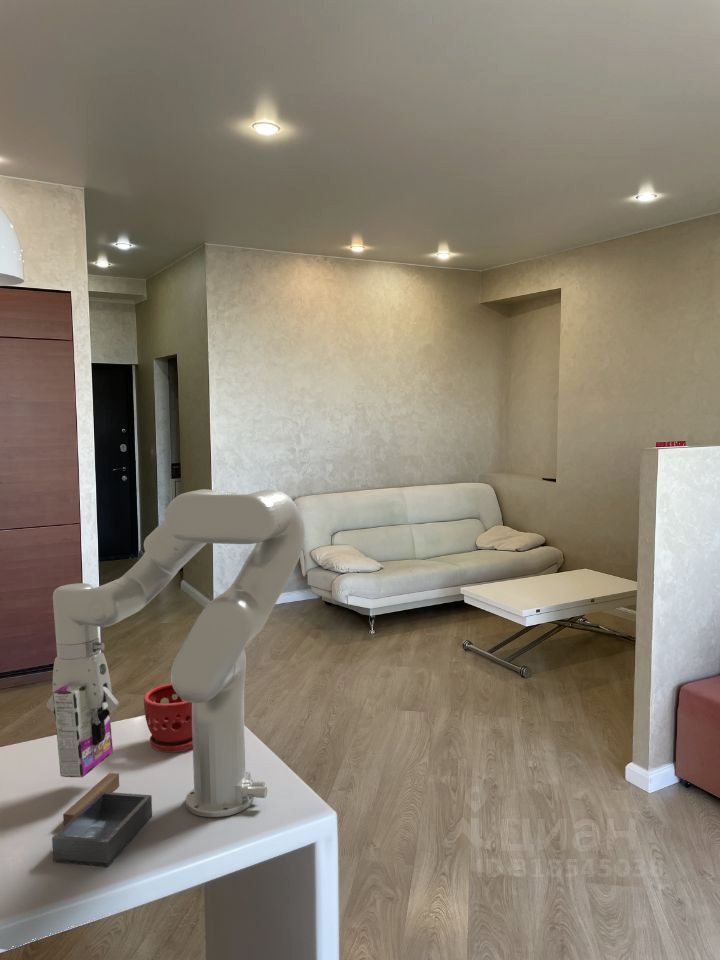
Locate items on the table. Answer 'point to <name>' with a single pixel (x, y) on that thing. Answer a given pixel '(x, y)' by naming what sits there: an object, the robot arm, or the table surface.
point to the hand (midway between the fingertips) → (85, 741)
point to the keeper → (102, 829)
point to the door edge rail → (92, 795)
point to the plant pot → (168, 720)
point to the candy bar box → (78, 733)
